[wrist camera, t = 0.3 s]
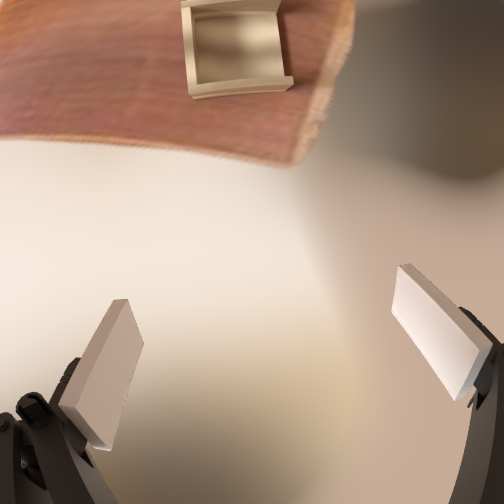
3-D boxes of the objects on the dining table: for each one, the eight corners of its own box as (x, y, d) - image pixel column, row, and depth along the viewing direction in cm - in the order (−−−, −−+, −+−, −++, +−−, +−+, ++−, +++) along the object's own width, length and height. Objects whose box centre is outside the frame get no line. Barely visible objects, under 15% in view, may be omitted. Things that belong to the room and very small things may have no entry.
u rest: (187, 18, 29) (180, 1, 23) (274, 10, 29) (280, -8, 24) (195, 100, 34) (188, 94, 28) (284, 91, 34) (293, 84, 28)
